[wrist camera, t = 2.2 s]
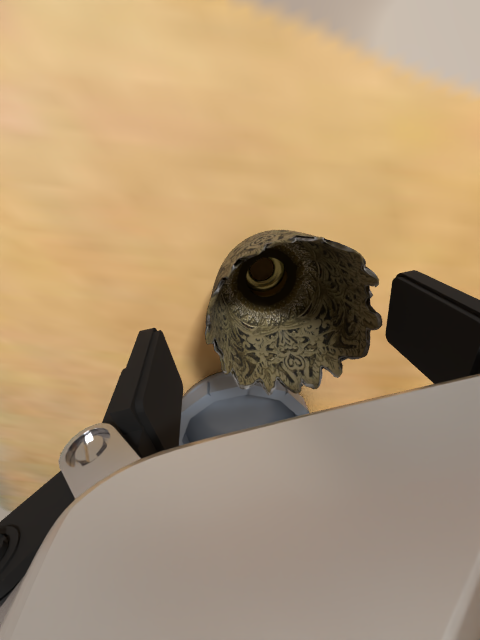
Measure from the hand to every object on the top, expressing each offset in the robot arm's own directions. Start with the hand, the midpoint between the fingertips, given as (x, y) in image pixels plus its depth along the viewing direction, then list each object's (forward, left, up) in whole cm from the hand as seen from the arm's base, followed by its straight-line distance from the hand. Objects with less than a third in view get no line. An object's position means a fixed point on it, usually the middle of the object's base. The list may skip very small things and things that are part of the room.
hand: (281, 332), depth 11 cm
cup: (-1, 0, -8) cm, 8 cm away
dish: (+3, +14, -8) cm, 17 cm away
